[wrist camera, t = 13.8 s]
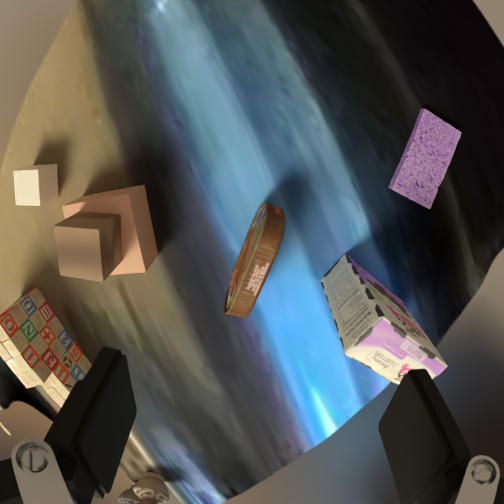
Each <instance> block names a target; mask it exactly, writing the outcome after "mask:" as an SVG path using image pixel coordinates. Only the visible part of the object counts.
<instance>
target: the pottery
mask: <svg viewBox="0 0 504 504" xmlns="http://www.w3.org/2000/svg"><path fill="white" fill-rule="evenodd" d="M164 480H165V479H164V477H163V476H161V475H159V474H157V473H153V472H146V473H144V477H143V478H141V479H140V480H138V481H137V483H136V484H135V485H132V486H131V488H130V489H127V490H125V491H123V492H122V493H121V494H120V495H119V497H118V500H119V502H120V503H121V504H158V503H162V502H166V501H168V500H169V493H168V490H167V487H166V485H165V484H164V483H163V482H164Z"/></svg>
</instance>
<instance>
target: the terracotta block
mask: <svg viewBox="0 0 504 504" xmlns="http://www.w3.org/2000/svg"><path fill="white" fill-rule="evenodd" d="M62 208H63V212H64V216H65V219H67V218H68V217H70V216H72V215H74V214H75V213H77V212H79V211H80V212H96V213H110V214H121V240H122V258H123V261H122V262H121V263H120V264H119V265H118V266H117V267H116V268H115V269H114V271H113V272H112V273H111V274H110V275H115V274H128V273H140V272H146V271H147V270H148V268H149V267H150V265H151V264H152V263H153V261H154V260H155V258H156V257H157V256H158V251H157V247H156V242H155V237H154V232H153V227H152V222H151V217H150V212H149V206H148V201H147V195H146V190H145V185H140V186H134V187H128V188H123V189H117V190H112V191H106V192H101V193H96V194H91V195H86V196H82V197H80V198H78V199H76V200H74V201H72V202H70V203H68V204H66V205H64V206H62Z"/></svg>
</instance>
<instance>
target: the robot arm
mask: <svg viewBox="0 0 504 504" xmlns="http://www.w3.org/2000/svg"><path fill="white" fill-rule="evenodd" d="M136 411H137V409H136V403H135V399H134V394H133V389H132V384H131V379H130V374H129V369H128V364H127V358H126V356H125V355H122V353H121V351H120V350H118V349H113V348H108V347H103V348H102V349H101V351H100V352H99V354H98V356H97V357H96V359H95V361H94V362H93V364H92V366H91V367H90V369H89V371H88V373H87V374H86V376H85V378H84V379H83V380H78V381H77V382H76V383H75V385H74V386H73V388H72V390H71V392H70V393H69V395H68V397H67V399H66V400H65V402H64V404H63V406H62V407H61V409H60V411H59V413H58V415H57V416H56V418H55V420H54V422H53V424H52V426H51V427H50V429H49V431H48V433H47V435H46V437H45V439H44V441H42V440H40V439H36V438H29V439H25V440H22V441H21V442H19V443H18V444H17V445H16V446H15V448H14V449H13V452H12V456H11V457H12V458H9V459H6V460H2V461H0V504H91V501H92V498H93V496H94V497H97V498H100V499H103V497H104V494H105V493H109V492H110V491H111V488H112V485H113V482H114V478H115V476H116V472H117V469H118V466H119V463H120V460H121V457H122V454H123V451H124V449H125V446H126V443H127V440H128V437H129V434H130V431H131V428H132V425H133V423H134V420H135V417H136ZM379 432H380V435H381V438H382V442H383V445H384V448H385V451H386V454H387V458H388V461H389V464H390V467H391V471H392V474H393V477H394V481H395V484H396V488H397V491H398V494H399V498H400V501H401V502H402V503H404V504H504V479H502V478H500V477H499V476H500V471H499V467H498V465H497V464H496V462H495V461H494V460H493V459H491V458H489V457H488V456H476V457H474V458H473V459H471V457H470V455H471V452H470V450H469V448H468V446H467V444H466V442H465V440H464V438H463V436H462V434H461V432H460V430H459V428H458V426H457V424H456V422H455V420H454V418H453V416H452V415H451V413H450V411H449V409H448V407H447V405H446V403H445V401H444V400H443V398H442V396H441V394H440V393H439V391H438V389H437V387H436V385H435V383H434V382H433V380H432V378H431V376H430V375H429V373H428V371H427V370H426V369H411V370H409V371H408V373H407V374H405V375H404V376H403V378H402V380H401V382H400V384H399V386H398V388H397V390H396V392H395V394H394V396H393V398H392V400H391V402H390V403H389V405H388V407H387V409H386V411H385V413H384V414H383V416H382V418H381V420H380V422H379Z"/></svg>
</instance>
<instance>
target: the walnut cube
mask: <svg viewBox="0 0 504 504" xmlns="http://www.w3.org/2000/svg"><path fill="white" fill-rule="evenodd" d="M54 232H55V242H56V250H57V257H58V265H59V271H60V275H62V276H68V277H74V278H81V279H87V280H94V281H101V282H104V281H105V279H106V278H107V277H108V276H109V275H110V274H111V273H112V272H113V271H114V269H115V268H116V267H117V266H118V265H119V264H120V263H121V262H122V261H123V258H122V240H121V214H110V213H96V212H80V211H79V212H77V213H75V214H74V215H72V216H70V217H68V218H67V219H65V220H63V221H61V222H60V223H58V224H56V225H55V226H54Z"/></svg>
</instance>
